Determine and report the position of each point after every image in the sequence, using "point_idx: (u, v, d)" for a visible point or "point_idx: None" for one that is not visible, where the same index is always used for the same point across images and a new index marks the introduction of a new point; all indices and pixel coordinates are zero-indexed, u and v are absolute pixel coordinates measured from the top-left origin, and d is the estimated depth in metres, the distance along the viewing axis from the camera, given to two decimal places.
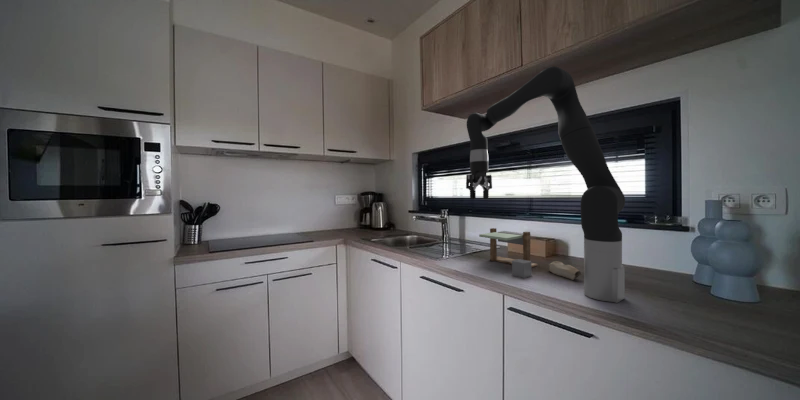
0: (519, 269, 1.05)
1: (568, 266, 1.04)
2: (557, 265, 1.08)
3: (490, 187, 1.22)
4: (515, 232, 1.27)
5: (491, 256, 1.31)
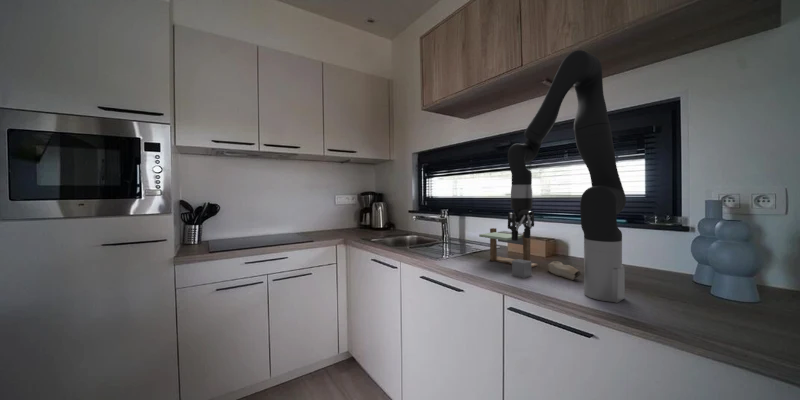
0: (519, 269, 1.05)
1: (568, 266, 1.04)
2: (556, 265, 1.08)
3: (532, 225, 1.09)
4: None
5: (491, 256, 1.31)
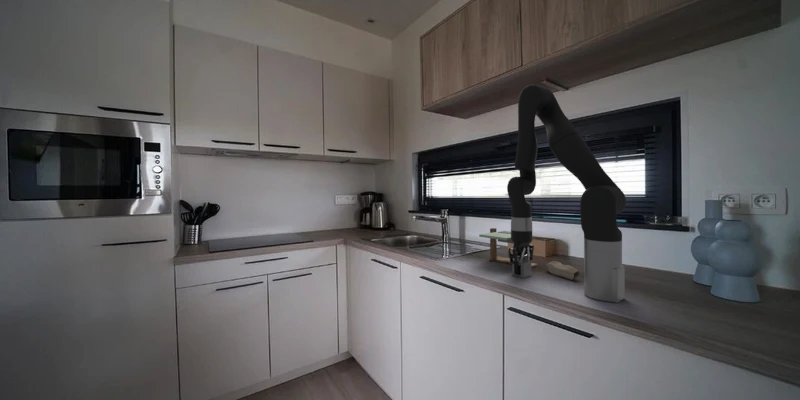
0: None
1: (567, 266, 1.04)
2: (555, 265, 1.08)
3: (530, 258, 1.09)
4: None
5: (491, 256, 1.31)
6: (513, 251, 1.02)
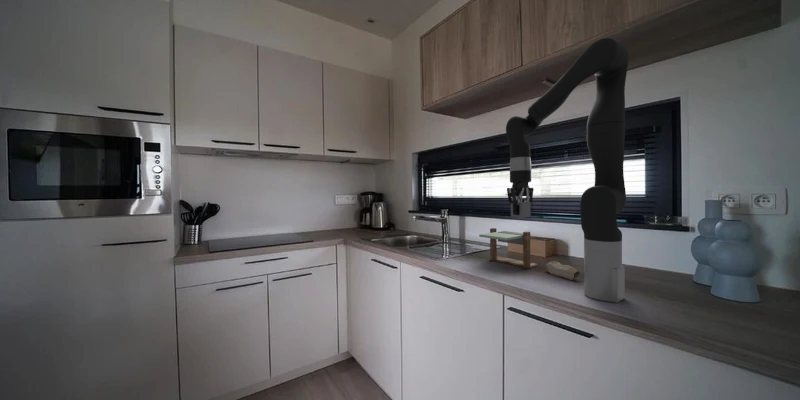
0: None
1: (566, 266, 1.04)
2: (555, 265, 1.08)
3: (530, 201, 1.08)
4: (515, 232, 1.27)
5: (491, 256, 1.31)
6: (511, 189, 1.02)
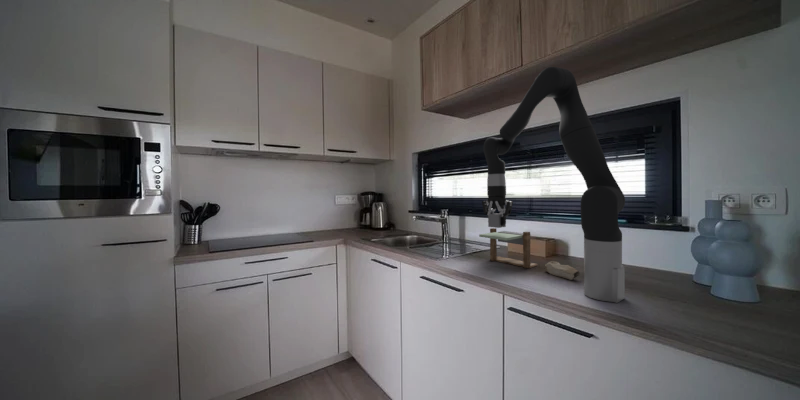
0: None
1: (566, 266, 1.04)
2: (554, 265, 1.08)
3: (504, 213, 1.14)
4: (515, 232, 1.27)
5: (491, 256, 1.31)
6: None
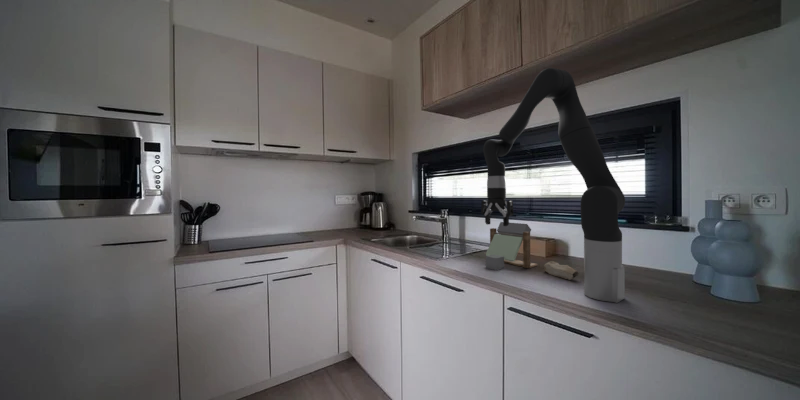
0: None
1: (565, 266, 1.04)
2: (553, 265, 1.08)
3: (507, 214, 1.13)
4: (512, 224, 1.26)
5: None
6: None
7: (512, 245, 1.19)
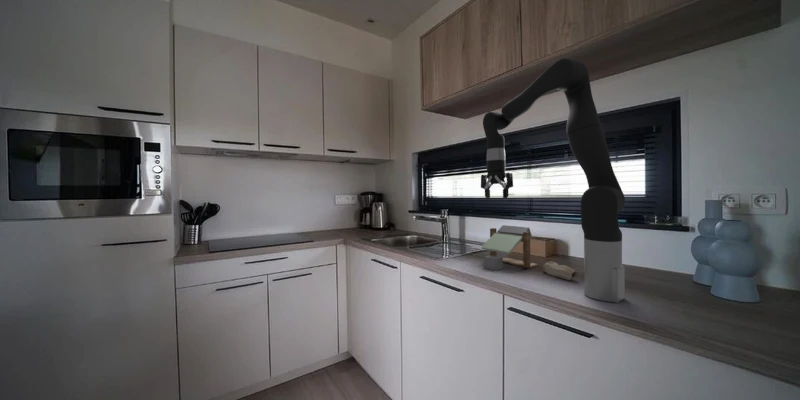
0: None
1: (564, 266, 1.04)
2: (552, 265, 1.08)
3: (507, 186, 1.13)
4: (514, 227, 1.27)
5: None
6: None
7: (510, 241, 1.18)
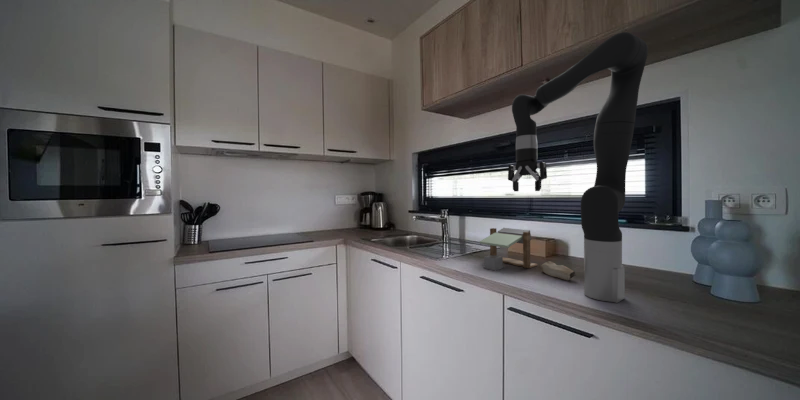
0: None
1: (562, 267, 1.04)
2: (550, 265, 1.07)
3: (540, 177, 1.01)
4: (515, 229, 1.27)
5: None
6: None
7: (510, 238, 1.18)
